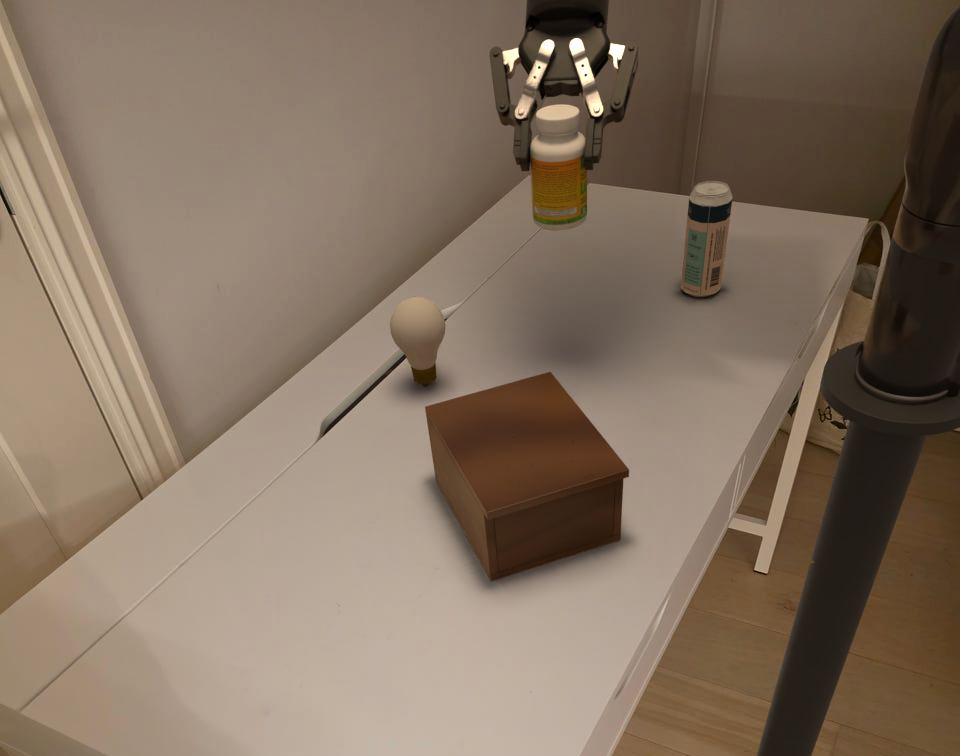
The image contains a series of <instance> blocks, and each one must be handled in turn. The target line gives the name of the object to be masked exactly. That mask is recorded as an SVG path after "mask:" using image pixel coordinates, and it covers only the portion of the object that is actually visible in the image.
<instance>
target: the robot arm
mask: <svg viewBox="0 0 960 756" xmlns="http://www.w3.org/2000/svg"><path fill="white" fill-rule="evenodd" d="M609 1H610V0H526V6H525V7H526V8H525V9H526V10H525V21H524V22H525V23H524V33H523V35H522V38H521V40H520V41H519V44H518V47H515V48H512V49H507V50H504V51H503V50H502V48H501V47H500V46H493V47H491V49H490V50H489V62H490V71H491V79H492V85H493V93H494V101H495V102H494V103H495V109H496V112H497V115H498V118H499V119H498V120H499V121H500V123H501V125H502V126H504V127H505V126H506V127H507V126H511V127H513V128H514V131H513V147H512V155H513V157H514V160H515V163H516V165H517V166H519V168H520V170H521V172H530V171H531V167H530V145H531V142H532V140H533V131H532V125H533V123H534V120H536V113H537V111H538V110H540V109H541V108H543V105H544V103H545V101H546V99H547V98H555V97H559V96H562V95H564V96H568V97H581V98H582V99H581V100H582V102H583V106H584V108H585V110H586V112H587V116H588V118H586V127H585V138H586V142H585V157H584V163H585V170H587V171H593V170H594V164H600V162H601V160H602V150H603V139H604V137H603V136H604V129H605V128H606V126H607V125H609V124H610V123H617V124H618V123H621V122H622V121H623V120H624V119H625V116H626V112H627V109H628V105H629V101H630V97H631V93H632V89H633V84H634V82H635V77H636V73H637V70H638V66H639V44H638V42H637V41H636V40H634V39H633V40H629V41H626V43H625V45H624V44H617V43H612V42H611V39H610V38H609V36H608V19H609V4H610V2H609ZM609 61H611V62H612V64H613V72H614V73H615V74H616V79H615V82H614V86H613V90H612V94H611V98H610V100H608V101H605V102H602V99H601V96H600V93H599V90H598V86H597V82H596V78H597V76H598V75H599V74H600V73H601V71H602V70H603V68H604V67H605V66H606V65H607V63H608V62H609ZM520 64H521V66H522V67H523V69H524V71H525V72H526V73H527V75H528V76H527V79H526V81H525V82H524V85H523V91H522V93H521V96H520V98H519V101H518V102H517V104H516V105H515V104H512V101H511V93H510V85H509V80H512V79H513V77H514V76H515V73H516V68H517V66H518V65H520ZM905 145H906V147H905V152H904V157H903V159H904V160H903V161H904V162H903V168H904V169H903V170H904V175H905V177H904V178H905V186H904V191H903V195H902V198H901V202H900V206H899V210H898V214H897V218H896V221H895V225H894V229H893V232H892V235H891V240H890V242H889V243H890V244H889V248H888V251H887V255H886V259H885V262H884V266H883V269H882V273H881V276H880V281H879V284H878V288H877V292H876V295H875V299H874V303H873V306H872V310H871V313H870V317H869V321H868V325H867V328H866V332H865V336H864V339H863V340H862V341H863V342H862V343H861V344H860V345H859V346H858V347H857V350H856V354H855V357H856V356H857V355H858V354H859V353H860V356H859V360H858V362H857V365H856V368H855V373H854V375H855V380H856V382H857V383H858V385H859V386H860V387H861V388H862V389H863V390H865V391H866V392H867V393H869V394H871V395H873V396H875V397H877V398H879V399H882V400H885V401H889V402H893V403H899V404H909V405H917V404H927V403H932V402H935V401H938V400H941V399H943V398H945V397H957V396H958V393H959V390H960V4H959V5H958V6H957V7H955V9H953V10H952V11H951V13H950V14H949V15H948V16H947V17H946V19H945V20H944V21H943V23H942V24H941V26H940V28H939V29H938V32H937V33H936V35H935V38H934V39H933V42H932V44H931V46H930V49H929V52H928V54H927V57H926V61H925V64H924V67H923V71H922V75H921V78H920V83H919V86H918V91H917V97H916V100H915V105H914V109H913V114H912V118H911V122H910V127H909V132H908V137H907V141H906V144H905Z"/></svg>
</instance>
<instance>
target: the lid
mask: <svg viewBox="0 0 960 756" xmlns="http://www.w3.org/2000/svg"><path fill="white" fill-rule="evenodd" d="M424 410H425V415H426V414H427V416H428V418H429V420H430V421H431V423H432V425H433V427H434V428H435V430H436V432H437V433H438V435H439V437H440V439H441V440H442V442H443V444H444V445H445V447H446V449H447V451H448V452H449V454H450V456H451V457H452V459H453V461H454V463H455V464H456V466H457V468H458V470H459V471H460V473H461V475H462V476H463V478H464V480H465V482H466V483H467V485H468V487H469V488H470V490H471V492H472V494H473V495H474V497H475V499H476V500H477V502H478V504H479V506H480V507H481V509H482V511H483V512H484V514H485V516H486V518H487V519H488V520H490V519H493V518H496V517H500V516H503V515H506V514H509V513H513V512H516V511H519V510H522V509H526V508H529V507H532V506H535V505H539V504H542V503H545V502H549V501H552V500H555V499H558V498H562V497H565V496H568V495H571V494H575V493H578V492H581V491H585V490H588V489H591V488H594V487H598V486H601V485H604V484H607V483H611V482H614V481H617V480H621V479H624V480H625V479H626V478H629V477H630V469H629V468H628V466H627V465H626V463H625V462H624V461H623V460H622V459H621V457H620V456H619V455H618V454H617V452H616V451H615V450H614V449H613V448H612V446H611V445H610V443H609V442H608V441H607V440H606V439H605V437H604V436H603V435H602V434H601V432H600V431H599V430H598V429H597V428H596V426H595V425H594V424H593V423H592V421H591V420H590V419H589V418H588V417H587V415H586V414H585V413H584V411H583V410H582V409H581V408H580V406H579V405H578V404H577V402H576V401H575V400H574V399H573V398H572V396H571V395H570V394H569V392H568V391H567V390H566V388H564V386H563V385H562V384H561V382H560V381H559V380H558V378H556V377H555V375H554V374H553V372H552V371H548V372H544V373H540V374H537V375H533V376H530V377H526V378H521V379H518V380H514V381H512V382H509V383H504V384H501V385H498V386H494V387H490V388H486V389H483V390H479V391H476V392H472V393H468V394H465V395H460V396H457V397H454V398H450V399H447V400H444V401H440V402H436V403H433V404H428V405H425V406H424Z"/></svg>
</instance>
